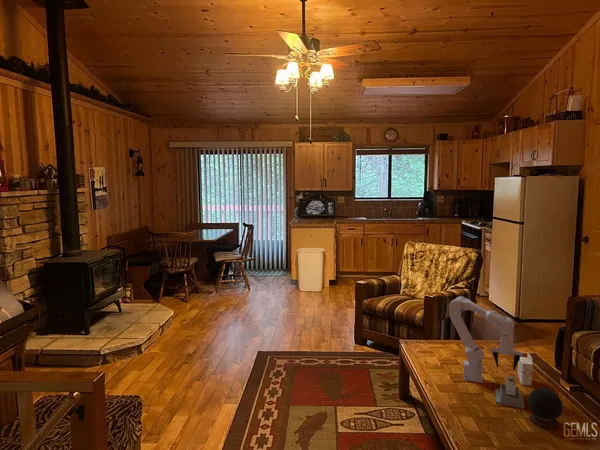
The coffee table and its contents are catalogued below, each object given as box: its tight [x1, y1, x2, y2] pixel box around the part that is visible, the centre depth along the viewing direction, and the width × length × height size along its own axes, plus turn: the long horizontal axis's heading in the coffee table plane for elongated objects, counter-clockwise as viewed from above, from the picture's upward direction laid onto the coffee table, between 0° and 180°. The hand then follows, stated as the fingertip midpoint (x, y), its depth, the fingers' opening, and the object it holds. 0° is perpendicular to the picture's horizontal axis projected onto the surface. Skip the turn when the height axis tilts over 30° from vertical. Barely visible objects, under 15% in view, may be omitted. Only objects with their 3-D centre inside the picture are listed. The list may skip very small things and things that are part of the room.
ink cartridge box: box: [517, 352, 534, 386], centre depth 222 cm, size 9×5×15 cm, turn 168°
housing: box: [504, 375, 517, 396], centre depth 205 cm, size 9×4×6 cm, turn 156°
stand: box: [494, 384, 525, 409], centre depth 205 cm, size 12×13×4 cm
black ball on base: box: [527, 387, 564, 431], centre depth 186 cm, size 13×13×15 cm
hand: (505, 368), depth 216 cm, fingers open, 7 cm apart
